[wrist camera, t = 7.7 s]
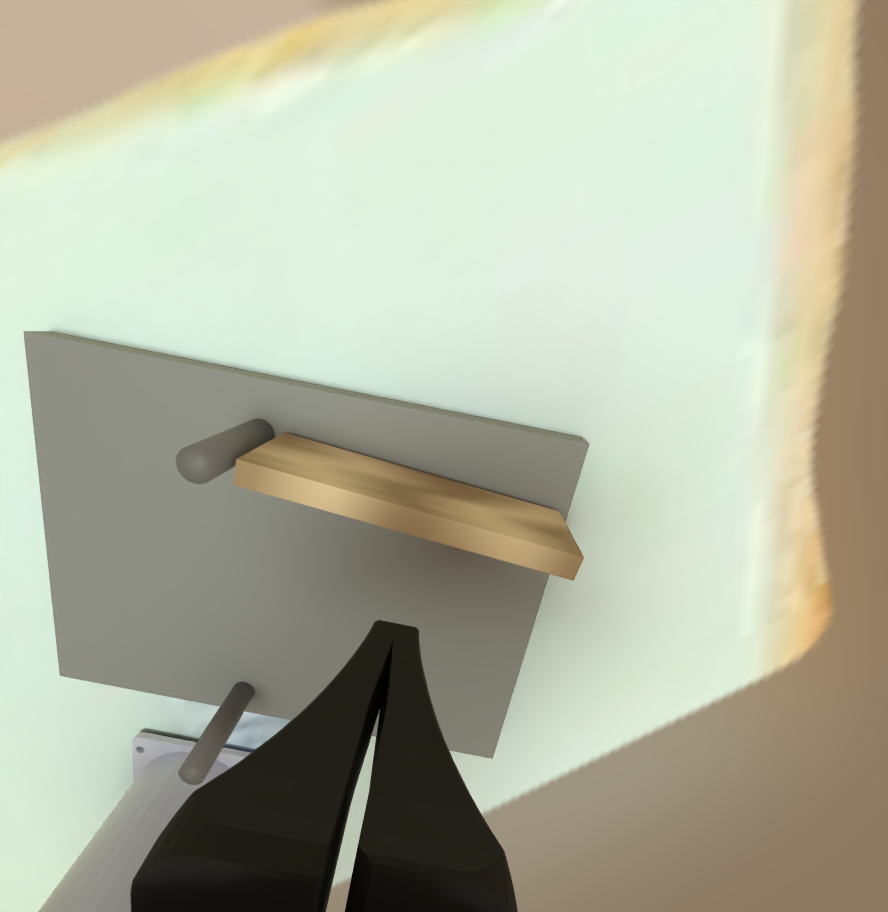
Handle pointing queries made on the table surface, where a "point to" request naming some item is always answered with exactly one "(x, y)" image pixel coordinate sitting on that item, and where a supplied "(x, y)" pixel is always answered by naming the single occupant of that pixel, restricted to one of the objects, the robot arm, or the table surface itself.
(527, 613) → the gate board
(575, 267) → the table surface
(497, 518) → the board
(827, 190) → the table surface
